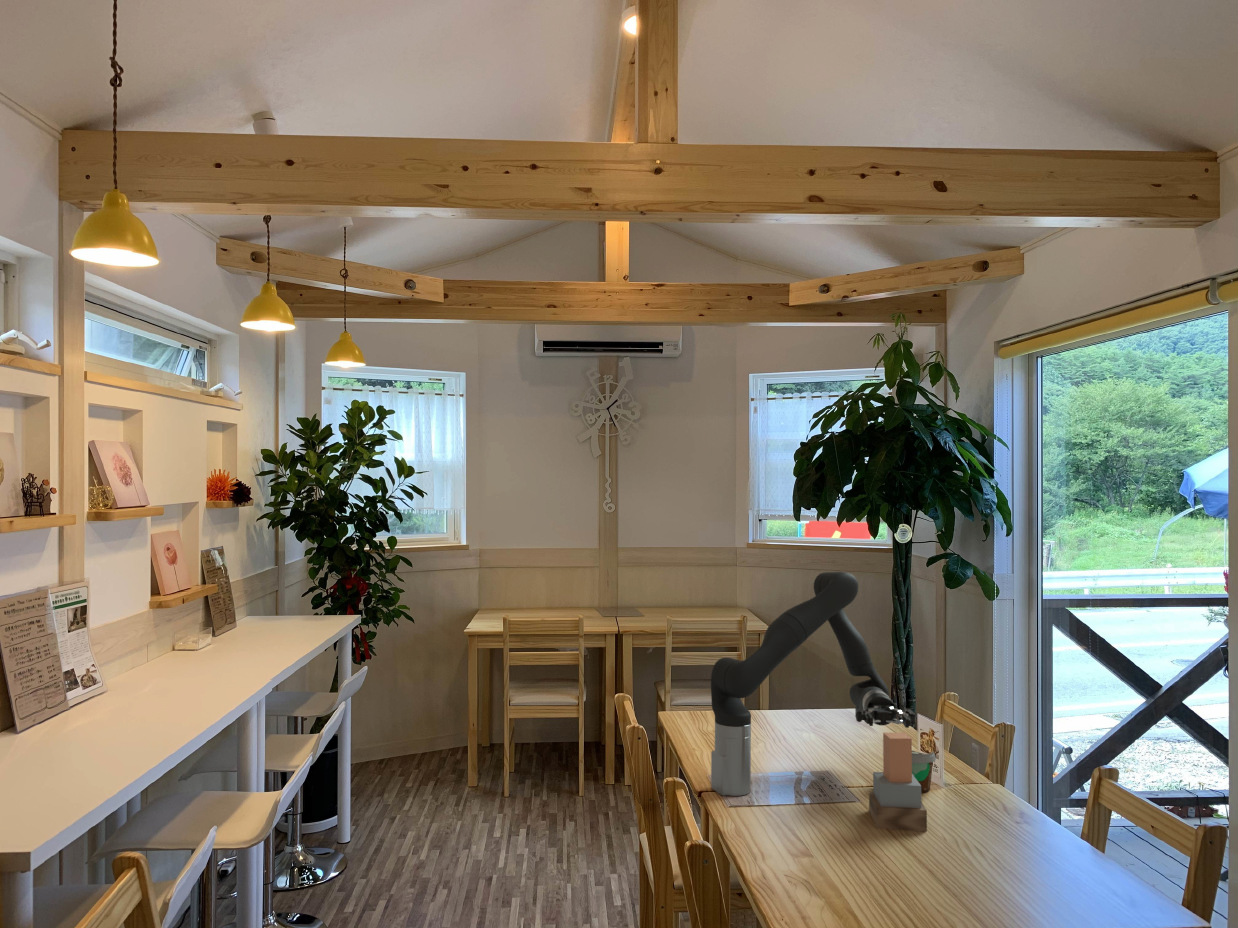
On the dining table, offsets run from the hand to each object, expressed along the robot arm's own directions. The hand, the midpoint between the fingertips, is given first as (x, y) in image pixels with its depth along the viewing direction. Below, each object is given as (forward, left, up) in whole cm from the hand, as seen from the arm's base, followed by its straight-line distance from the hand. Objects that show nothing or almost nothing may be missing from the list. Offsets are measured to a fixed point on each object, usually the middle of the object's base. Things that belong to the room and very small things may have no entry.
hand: (889, 722), depth 210 cm
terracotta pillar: (-4, -8, -11) cm, 14 cm away
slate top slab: (-4, -8, -16) cm, 18 cm away
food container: (+13, +8, -21) cm, 26 cm away
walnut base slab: (-4, -8, -21) cm, 23 cm away
